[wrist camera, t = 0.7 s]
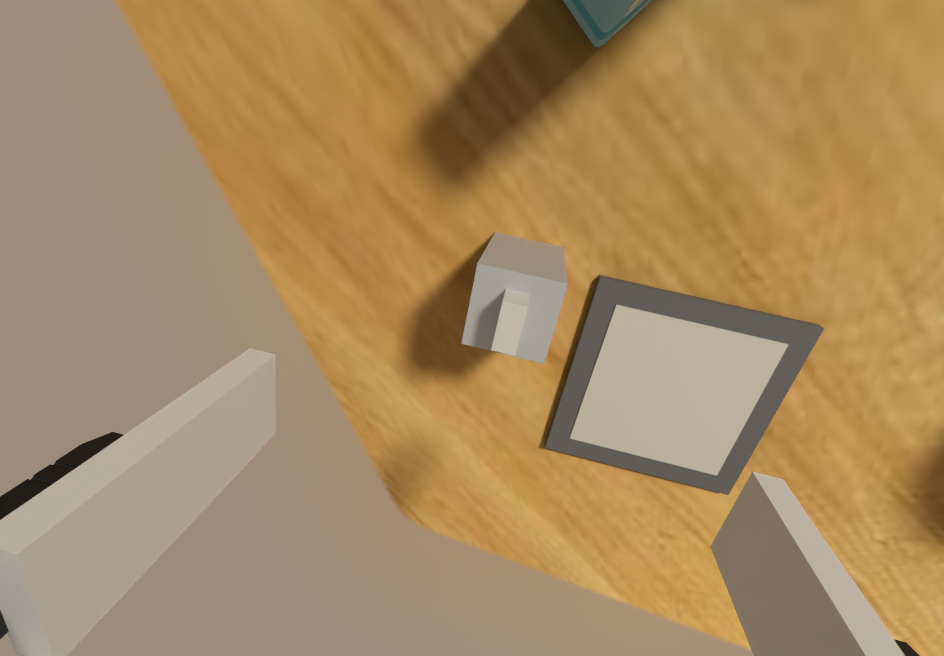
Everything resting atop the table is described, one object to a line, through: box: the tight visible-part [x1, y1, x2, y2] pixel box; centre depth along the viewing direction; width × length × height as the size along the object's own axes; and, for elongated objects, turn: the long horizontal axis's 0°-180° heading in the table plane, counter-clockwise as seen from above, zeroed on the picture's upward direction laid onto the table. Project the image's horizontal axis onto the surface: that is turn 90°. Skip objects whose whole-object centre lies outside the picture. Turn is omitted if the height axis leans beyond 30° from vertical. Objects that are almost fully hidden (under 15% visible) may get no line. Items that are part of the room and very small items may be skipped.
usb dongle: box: [461, 232, 568, 364], centre depth 25 cm, size 4×4×10 cm
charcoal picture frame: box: [545, 275, 824, 495], centre depth 31 cm, size 14×14×1 cm
